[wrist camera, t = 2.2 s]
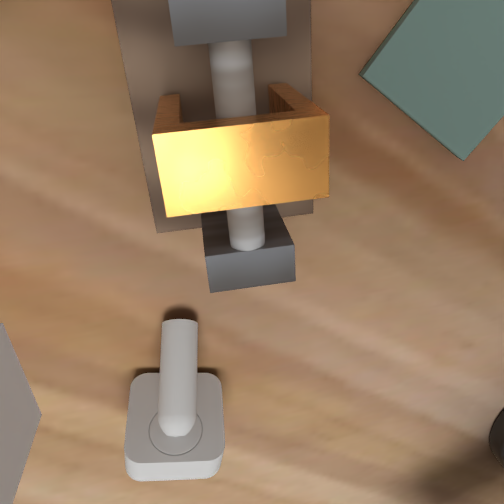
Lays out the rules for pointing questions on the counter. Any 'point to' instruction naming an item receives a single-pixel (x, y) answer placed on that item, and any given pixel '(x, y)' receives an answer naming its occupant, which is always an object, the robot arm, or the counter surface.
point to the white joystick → (175, 414)
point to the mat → (445, 69)
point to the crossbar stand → (218, 109)
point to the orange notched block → (242, 155)
